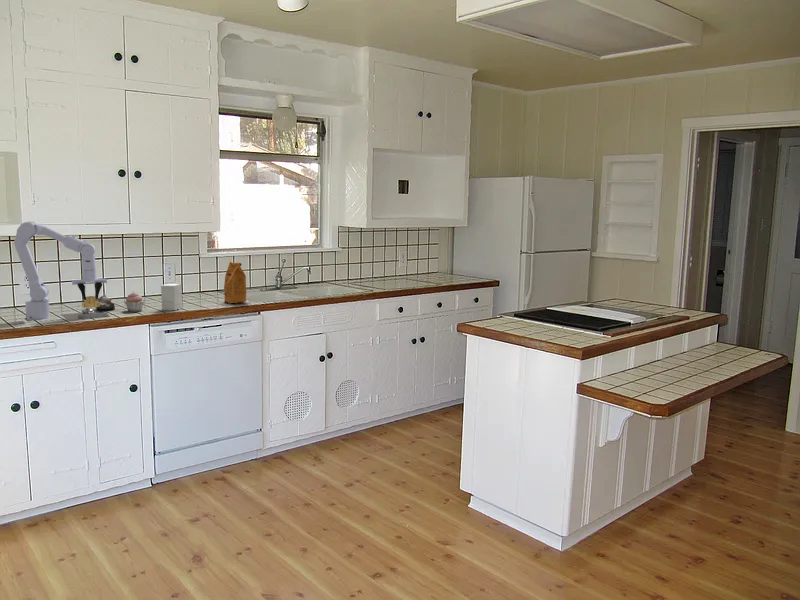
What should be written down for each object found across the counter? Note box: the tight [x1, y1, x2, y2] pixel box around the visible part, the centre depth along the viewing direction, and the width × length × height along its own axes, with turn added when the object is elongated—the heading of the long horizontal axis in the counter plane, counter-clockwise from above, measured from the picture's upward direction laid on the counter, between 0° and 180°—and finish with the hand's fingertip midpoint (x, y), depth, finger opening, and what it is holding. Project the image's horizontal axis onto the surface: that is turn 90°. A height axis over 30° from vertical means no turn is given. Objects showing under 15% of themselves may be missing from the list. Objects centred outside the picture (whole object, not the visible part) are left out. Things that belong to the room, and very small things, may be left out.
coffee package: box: [223, 260, 247, 304], centre depth 366 cm, size 10×12×22 cm
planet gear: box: [81, 295, 100, 309], centre depth 312 cm, size 7×7×4 cm
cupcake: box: [124, 290, 145, 313], centre depth 334 cm, size 9×9×10 cm
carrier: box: [61, 308, 111, 321], centre depth 314 cm, size 18×17×4 cm
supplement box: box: [160, 283, 183, 311], centre depth 340 cm, size 7×7×13 cm
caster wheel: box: [95, 294, 116, 312], centre depth 331 cm, size 7×11×10 cm
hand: (90, 299), depth 312 cm, fingers closed on planet gear, 5 cm apart
